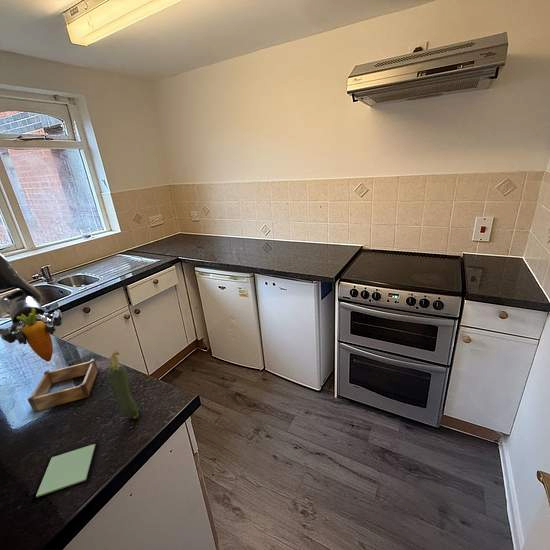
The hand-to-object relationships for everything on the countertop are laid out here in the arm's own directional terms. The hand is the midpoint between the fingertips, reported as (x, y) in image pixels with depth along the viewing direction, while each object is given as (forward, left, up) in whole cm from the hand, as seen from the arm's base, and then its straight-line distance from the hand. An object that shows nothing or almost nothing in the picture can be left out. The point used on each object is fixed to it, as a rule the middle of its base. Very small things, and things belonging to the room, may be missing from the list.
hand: (37, 335), depth 74 cm
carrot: (-1, +2, -9) cm, 10 cm away
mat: (+5, -20, -24) cm, 32 cm away
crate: (-3, +9, -24) cm, 26 cm away
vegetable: (+17, -10, -24) cm, 31 cm away
